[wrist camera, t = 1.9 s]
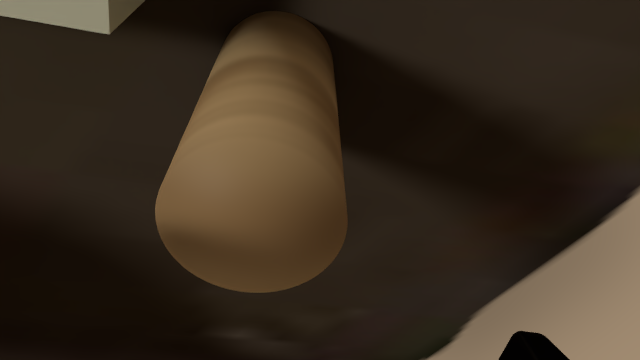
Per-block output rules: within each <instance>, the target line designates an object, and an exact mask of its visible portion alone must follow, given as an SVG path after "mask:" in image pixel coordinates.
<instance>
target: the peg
mask: <svg viewBox="0 0 640 360" xmlns="http://www.w3.org/2000/svg"><path fill="white" fill-rule="evenodd" d="M155 217H156V224H157V228H158V232H159V234H160V237H161V239H162V241H163V243H164V245H165V246H166V248H167V250H168V251H169V252H170V254H171V255H172V256H173V257H174V258H175V259H176V260H177V261H178V262H179V263H180V264H181V265H182V266H183V267H184V268H185V269H187V270H188V271H189V272H191V273H192V274H194V275H195V276H197V277H199V278H200V279H203V280H205V281H207V282H209V283H211V284H214V285H216V286H219V287H222V288H226V289H230V290H235V291H241V292H252V293H263V292H274V291H280V290H284V289H288V288H291V287H295V286H298V285H300V284H302V283H304V282H307V281H308V280H310V279H312V278H314V277H315V276H317V275H318V274H319V273H321V272H322V271H323V270H325V269H326V268H327V267H328V266H329V265H330V264H331V263H332V261H333V260H334V259H335V257H336V256H337V255H338V253H339V251H340V249H341V247H342V245H343V243H344V240H345V237H346V232H347V207H346V196H345V186H344V175H343V164H342V153H341V142H340V131H339V120H338V109H337V99H336V88H335V77H334V66H333V58H332V54H331V50H330V48H329V45H328V43H327V41H326V40H325V38H324V36H323V35H322V34H321V33H320V31H319V30H318V29H317V28H316V27H315V26H314V25H312V24H311V23H310V22H308V21H307V20H305V19H303V18H302V17H300V16H297V15H295V14H292V13H288V12H283V11H266V12H260V13H257V14H254V15H252V16H249V17H247V18H246V19H244V20H242V21H241V22H240V23H238V24H237V25H236V26H235V27H234V28H233V29H232V30H231V32H230V33H229V34H228V36H227V37H226V39H225V42H224V44H223V46H222V48H221V50H220V53H219V55H218V57H217V60H216V62H215V64H214V66H213V69H212V71H211V73H210V76H209V78H208V80H207V82H206V85H205V87H204V89H203V91H202V94H201V96H200V98H199V101H198V103H197V105H196V107H195V110H194V112H193V114H192V117H191V119H190V121H189V123H188V126H187V128H186V130H185V133H184V135H183V137H182V139H181V142H180V144H179V146H178V148H177V151H176V153H175V155H174V158H173V160H172V162H171V164H170V167H169V169H168V171H167V174H166V176H165V178H164V180H163V183H162V185H161V187H160V190H159V192H158V196H157V199H156V207H155Z"/></svg>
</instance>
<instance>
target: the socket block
mask: <svg viewBox="0 0 640 360" xmlns="http://www.w3.org/2000/svg"><path fill="white" fill-rule="evenodd" d="M144 1H145V0H0V16H6V17H12V18H18V19H23V20H29V21H35V22H41V23H46V24H52V25H58V26H64V27H69V28H75V29H81V30H87V31H92V32H98V33H104V34H110V33H112V32H113V31H114V30H115V29H116V28H117V27H118V26H119V25H120V24H121V23H122V22H123V21H124V20H125V19H126V18H127V17H128V16H129V15H130V14H131V13H132V12H134V11H135V10H136V9H137V8H138V7H139V6H140V5H141V4H142V3H143V2H144Z"/></svg>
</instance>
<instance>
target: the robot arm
mask: <svg viewBox="0 0 640 360" xmlns="http://www.w3.org/2000/svg"><path fill="white" fill-rule="evenodd" d="M499 360H569V359H568V358H567V357H566V356H565V355H564V354H563V353H562V352H561V351H560V350H559V349H558V348H557V347H556V346H555V345H554V344H553V343H552V342H551V341H550V340H549V339H548V338H546V337H545V336H544V335H542V334H539V333H533V332H525V331H518V332H516V333H515V334H513V336H512V337H511V339H510V340H509V342H508V344H507V346H506V348H505V349H504V351H503V353H502V354H501V356H500V358H499Z"/></svg>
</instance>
